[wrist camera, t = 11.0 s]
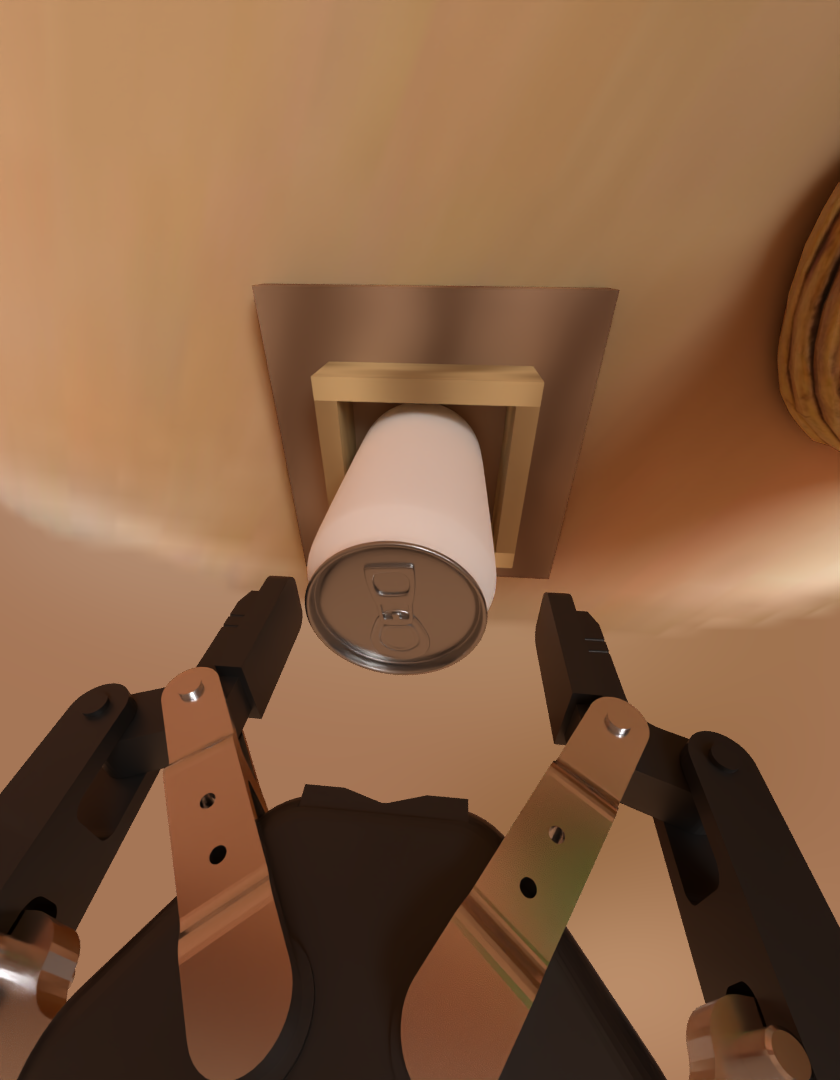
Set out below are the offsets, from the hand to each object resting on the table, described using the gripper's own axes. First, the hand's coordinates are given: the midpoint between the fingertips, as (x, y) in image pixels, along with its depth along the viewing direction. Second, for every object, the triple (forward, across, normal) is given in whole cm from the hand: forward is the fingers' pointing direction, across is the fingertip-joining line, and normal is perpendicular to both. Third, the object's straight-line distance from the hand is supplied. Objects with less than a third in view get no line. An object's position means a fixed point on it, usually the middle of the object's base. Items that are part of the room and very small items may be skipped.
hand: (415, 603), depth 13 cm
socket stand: (+13, 0, 0) cm, 13 cm away
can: (+11, +1, 0) cm, 11 cm away
